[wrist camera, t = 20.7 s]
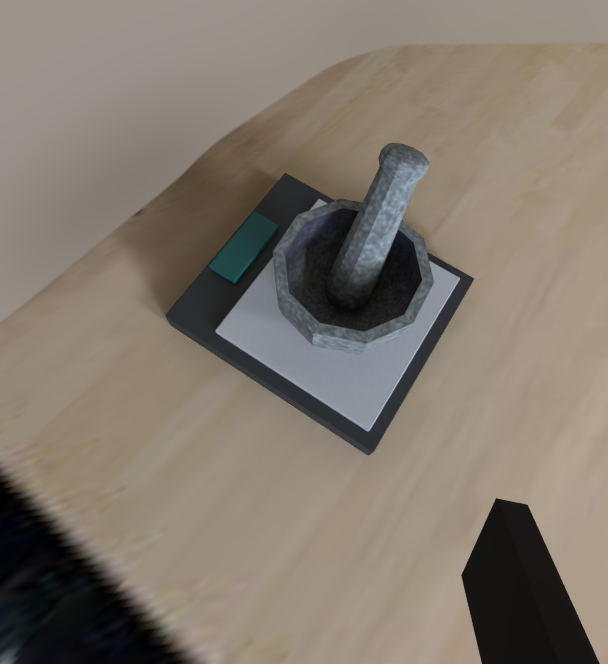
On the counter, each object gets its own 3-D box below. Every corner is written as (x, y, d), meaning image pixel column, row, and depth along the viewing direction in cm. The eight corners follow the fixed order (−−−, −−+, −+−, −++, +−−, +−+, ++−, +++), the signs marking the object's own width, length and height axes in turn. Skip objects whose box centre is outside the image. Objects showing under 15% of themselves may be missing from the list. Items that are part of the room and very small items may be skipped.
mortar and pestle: (367, 399, 32) (411, 341, 20) (251, 336, 33) (233, 249, 22) (432, 274, 35) (499, 167, 24) (325, 222, 37) (342, 97, 25)
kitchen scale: (170, 325, 36) (162, 312, 33) (285, 187, 41) (285, 167, 38) (368, 455, 33) (374, 451, 30) (465, 289, 38) (477, 274, 35)
